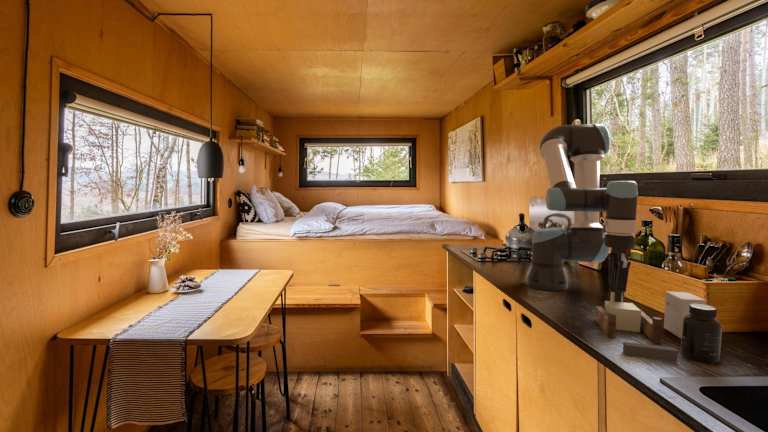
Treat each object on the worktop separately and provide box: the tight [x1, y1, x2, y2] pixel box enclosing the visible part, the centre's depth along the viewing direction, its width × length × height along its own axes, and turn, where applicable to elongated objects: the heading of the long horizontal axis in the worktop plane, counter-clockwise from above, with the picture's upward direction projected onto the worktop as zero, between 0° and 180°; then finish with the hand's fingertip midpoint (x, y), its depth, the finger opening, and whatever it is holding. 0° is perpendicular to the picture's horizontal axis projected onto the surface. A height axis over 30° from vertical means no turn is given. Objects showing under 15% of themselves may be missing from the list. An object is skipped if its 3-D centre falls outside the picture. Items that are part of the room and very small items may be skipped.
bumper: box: [622, 341, 679, 363], centre depth 84 cm, size 2×10×2 cm, turn 72°
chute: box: [594, 305, 663, 344], centre depth 100 cm, size 14×12×6 cm
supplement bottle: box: [680, 303, 723, 365], centre depth 84 cm, size 7×7×12 cm
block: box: [604, 300, 642, 333], centre depth 104 cm, size 7×7×6 cm
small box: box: [663, 290, 707, 339], centre depth 98 cm, size 8×6×10 cm
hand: (615, 312), depth 109 cm, fingers closed
